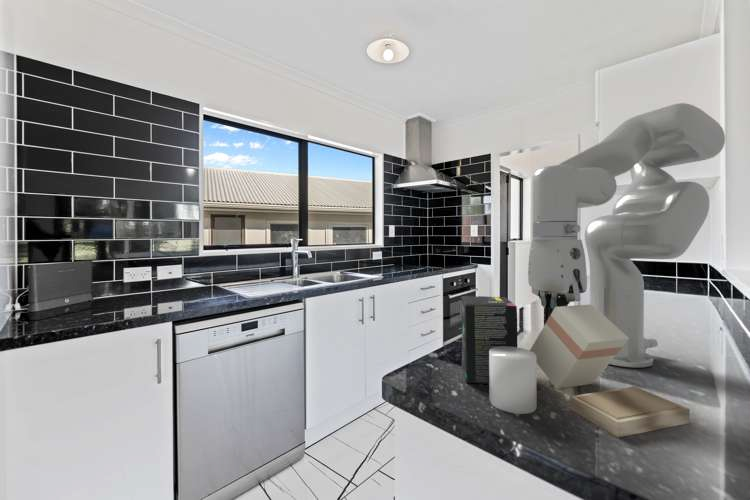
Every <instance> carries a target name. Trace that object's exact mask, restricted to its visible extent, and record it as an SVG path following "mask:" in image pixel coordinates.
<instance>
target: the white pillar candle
mask: <svg viewBox="0 0 750 500" xmlns="http://www.w3.org/2000/svg"><path fill="white" fill-rule="evenodd" d="M537 365H538V364H537V356H536V354H535V353H533V352H531V351H530V350H529V349H525V348H522V347H519V346H517V347H510V346H499V347H493V348H491V349H490V350H489V384H488V386H489V387H488V388H489V390H488V392H489V393H488V398H489V402H490V404H491V405H492V406H494V407H495V408H496V409H499V410H500V411H503V412H507V413H510V414H517V415H526V414H532V413H533V412H535V411H536V410H537V407H538V406H537V405H538V404H537V403H538V402H537V397H538V396H537V395H538V394H537V387H538V386H537V384H538V383H537V376H538V375H537V372H538V371H537V370H538V369H537Z"/></svg>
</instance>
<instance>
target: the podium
mask: <svg viewBox="0 0 750 500" xmlns="http://www.w3.org/2000/svg"><path fill="white" fill-rule="evenodd" d="M569 410H570V411H572V412H574V413H575V414H577V415H579V416H580V417H583V418H584V419H585V420H587V421H589V422H590V423H592V424H594V425H596V426H598V428H601V429H602V430H603V431H606V432H607V433H609V434H611V435H612V436H614V437H615V438H622V437H629V436H633V435H639V434H642V433H647V432H652V431H657V430H661V429H667V428H671V427H672V428H673V427H677V426H682V425H687V424H690V421H691V420H690V415H691V414H690V412H691V410H690V408H688V407H687V406H686V407H685V406H684V405H681V404H679V403H676V402H673V401H671V400H668V399H666V398H664V397H662V396H660V395H656V394H654V393H652V392H649V391H647V390H644V389H642V388H640V387H637V386H635V385H634V386H628V387H621V388H615V389H614V388H613V389H609V390H602V391H597V392H596V391H595V392H590V393H584V394H583V393H582V394H577V395H576V394H575V395H572V396H569Z"/></svg>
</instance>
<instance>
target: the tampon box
mask: <svg viewBox="0 0 750 500" xmlns="http://www.w3.org/2000/svg"><path fill="white" fill-rule="evenodd" d="M517 308H518V307H517V305H515V304H514V303H513V302H512V300H510V299H509V298H507V297H506V296H503V297H502V296H486V295H485V296H484V295H483V296H482V295H481V296H480V295H479V296H472V295H470V296H469V295H462V297H461V367H462V371H463V375H464V379H465V380H464V381H465V383H469V384H470V383H471V384H479V385H489V350H490V349H491V348H493V347H499V346H510V347H518V309H517Z"/></svg>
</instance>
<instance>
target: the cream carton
mask: <svg viewBox="0 0 750 500" xmlns="http://www.w3.org/2000/svg"><path fill="white" fill-rule="evenodd" d="M628 340H629V338H628V337H627V336H626V335H625V334H624V333H623V332H622V331H621V330H619V329H618V328H617V327H616V326H615V325H614V324H613V323H612V322H611V321H610V320H608V319H607V318H606V317H605V316H604V315H603V314H602V313H601V312H600V311H599V310H597V309H596V308H595V307H594V306H593V305H592V304H590V303H589V304H580V305H579V304H578V305H577V304H576V305H568V306H561V307H555V308H554V310H553V312H552V313H551V315H550V316H549V318H548V320H547V322H546V324H545V325H544V324H543V328H542V329H541V331H540V332H539V334H538V336H537V338H536V339H535V341H534V342H533V345H532V346H531V348H530V350H529V351H531V352H533V353H535V354H536V356H537V365H538V367H539V368H540V369H541V370H542V372H543V373H544V375H545V376H546V377H547V379H548V381H550V382H551V385H552V386H553V387H554V388H555V389H556V390H558V389H560V390H561V389H566V388H572V387H573V388H574V387H579V386H580V387H581V386H587V385H592V384H594V383H595V382H596V381H597V379H598V378H599V377H600V375H601V374H602V373H603V372H604V370H605V369H606V368H607V367H608V366H609V365H610V364H609V363H610V362H611V361H612V359H613V358H614V357H615V356H616V355H617V354H618V352H619V351H620V350H621V349H622V347H623V346H624V345H625V343H626V342H627V341H628Z"/></svg>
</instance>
